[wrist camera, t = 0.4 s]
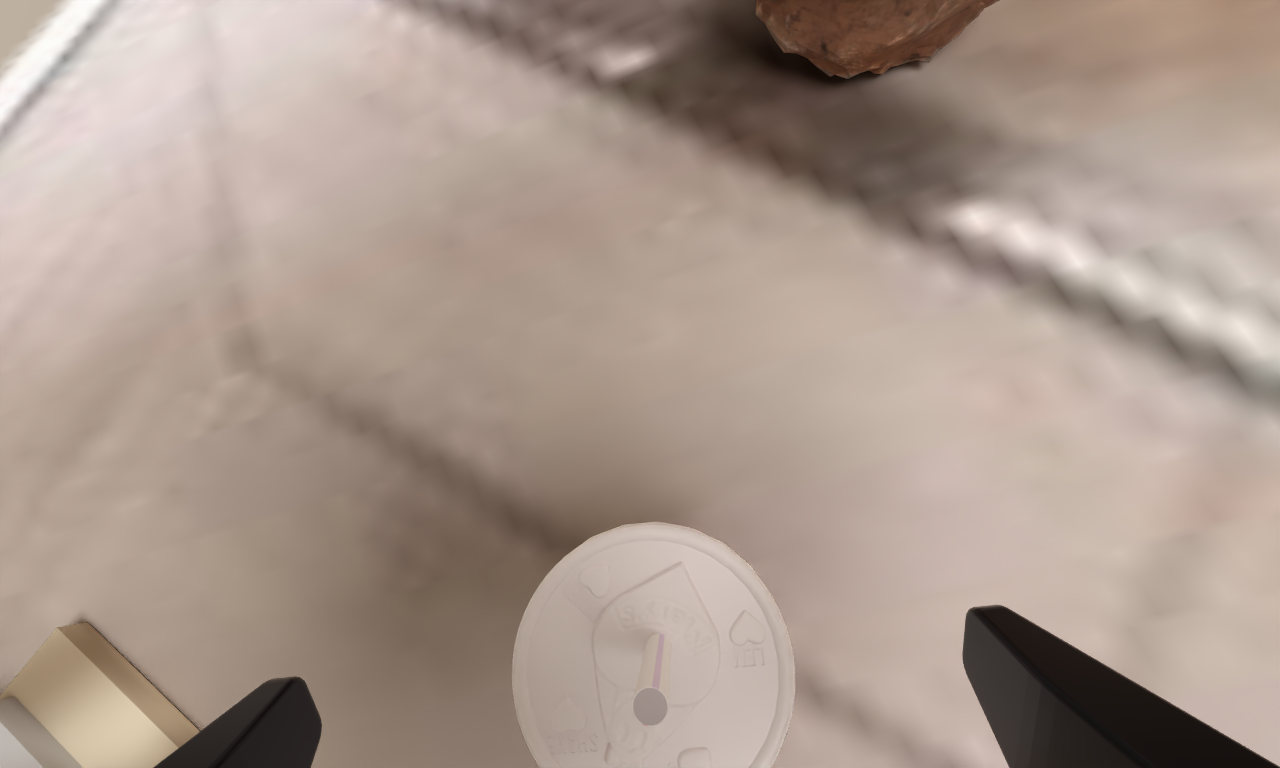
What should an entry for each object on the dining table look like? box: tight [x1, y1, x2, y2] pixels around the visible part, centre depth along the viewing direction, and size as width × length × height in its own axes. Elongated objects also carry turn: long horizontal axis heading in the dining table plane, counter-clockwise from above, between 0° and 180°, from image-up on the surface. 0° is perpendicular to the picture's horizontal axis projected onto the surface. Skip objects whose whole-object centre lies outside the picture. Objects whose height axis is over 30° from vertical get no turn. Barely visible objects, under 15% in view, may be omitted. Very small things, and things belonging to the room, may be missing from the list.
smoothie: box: [512, 521, 796, 768], centre depth 16 cm, size 6×6×14 cm
